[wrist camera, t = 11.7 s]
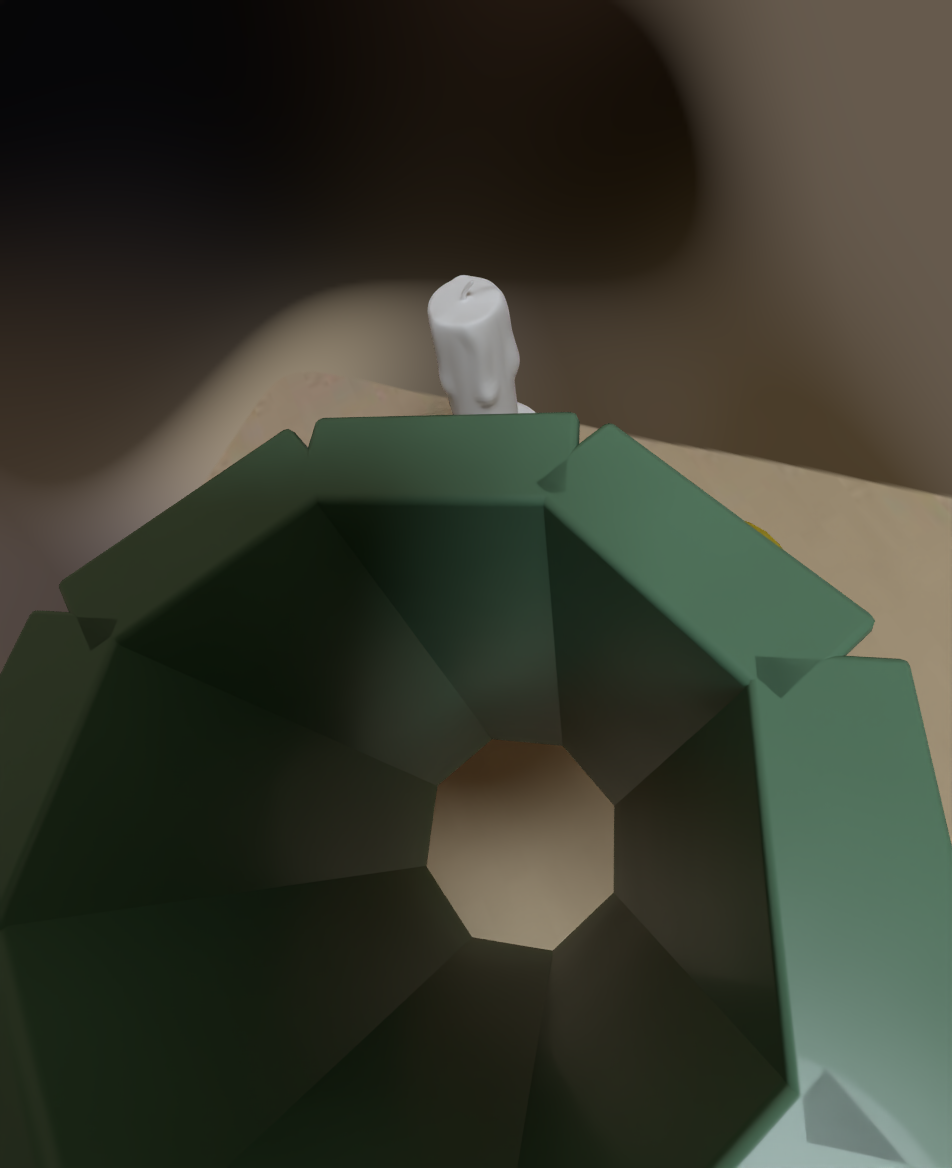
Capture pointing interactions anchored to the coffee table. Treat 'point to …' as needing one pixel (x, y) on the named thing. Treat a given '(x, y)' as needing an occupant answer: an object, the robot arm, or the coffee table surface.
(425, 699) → the octagonal pen holder
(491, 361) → the candle
